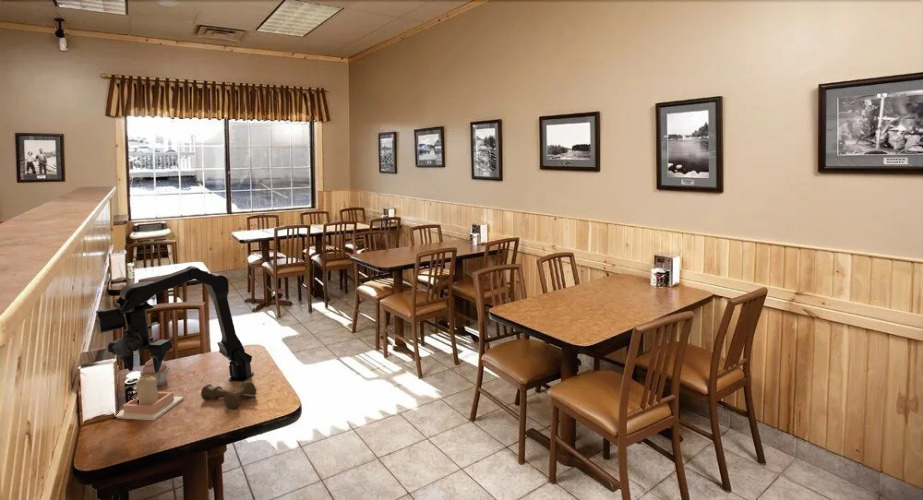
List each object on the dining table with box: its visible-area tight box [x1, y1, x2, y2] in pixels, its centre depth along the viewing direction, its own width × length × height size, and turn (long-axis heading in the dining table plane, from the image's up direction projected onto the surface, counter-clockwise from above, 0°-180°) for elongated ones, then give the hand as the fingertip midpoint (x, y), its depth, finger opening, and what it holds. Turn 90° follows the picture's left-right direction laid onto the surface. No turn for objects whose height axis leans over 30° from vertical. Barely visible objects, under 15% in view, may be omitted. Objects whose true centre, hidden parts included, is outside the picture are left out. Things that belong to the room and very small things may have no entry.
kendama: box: [200, 380, 257, 410], centre depth 174 cm, size 6×10×20 cm
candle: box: [135, 375, 159, 405], centre depth 170 cm, size 6×6×10 cm
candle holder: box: [116, 391, 185, 421], centre depth 171 cm, size 14×14×3 cm
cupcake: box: [139, 357, 171, 387], centre depth 188 cm, size 9×9×10 cm
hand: (144, 371), depth 168 cm, fingers open, 9 cm apart
